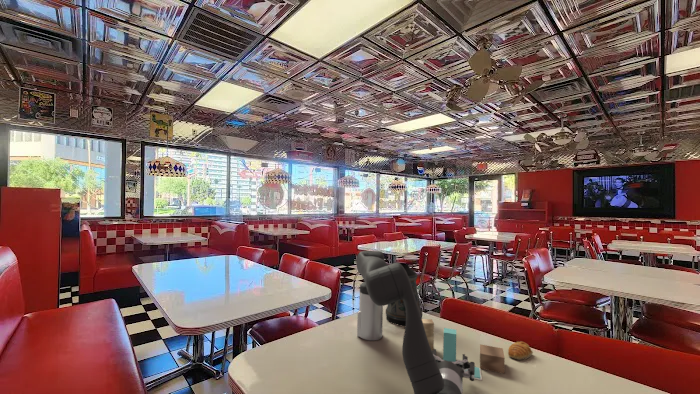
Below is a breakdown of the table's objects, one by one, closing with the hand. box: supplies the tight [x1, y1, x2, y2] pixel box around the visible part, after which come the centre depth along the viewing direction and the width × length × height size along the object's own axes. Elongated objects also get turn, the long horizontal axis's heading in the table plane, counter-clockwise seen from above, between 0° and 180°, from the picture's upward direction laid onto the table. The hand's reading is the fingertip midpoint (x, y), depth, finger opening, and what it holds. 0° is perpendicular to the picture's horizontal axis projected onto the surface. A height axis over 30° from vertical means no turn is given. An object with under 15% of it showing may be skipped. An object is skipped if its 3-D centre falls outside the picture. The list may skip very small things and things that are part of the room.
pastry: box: [507, 341, 534, 361], centre depth 108 cm, size 9×7×4 cm
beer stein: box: [385, 262, 423, 327], centre depth 139 cm, size 16×19×25 cm
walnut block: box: [479, 344, 506, 374], centre depth 101 cm, size 7×7×5 cm
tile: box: [463, 366, 483, 381], centre depth 96 cm, size 7×7×1 cm
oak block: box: [422, 318, 435, 350], centre depth 112 cm, size 4×4×10 cm
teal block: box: [442, 327, 457, 362], centre depth 103 cm, size 4×4×10 cm
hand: (449, 354), depth 95 cm, fingers open, 8 cm apart
